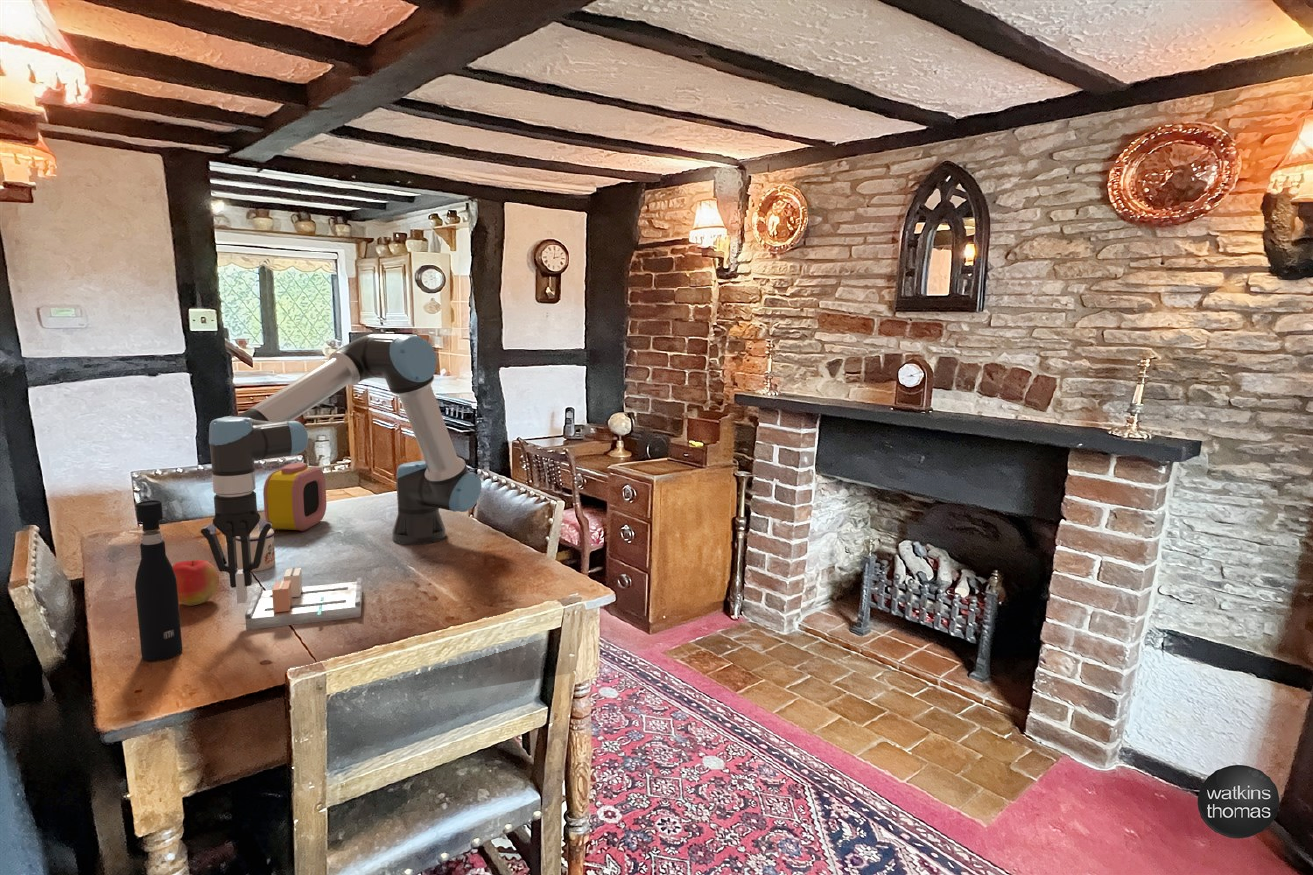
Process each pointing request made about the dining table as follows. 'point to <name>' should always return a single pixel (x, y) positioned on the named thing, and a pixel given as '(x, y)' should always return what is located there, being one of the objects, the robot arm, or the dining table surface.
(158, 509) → the black water bottle
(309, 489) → the alarm clock
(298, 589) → the fader
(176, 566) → the apple
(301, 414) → the robot arm
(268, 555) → the teacup with lid
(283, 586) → the fader
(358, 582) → the console
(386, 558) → the dining table surface
